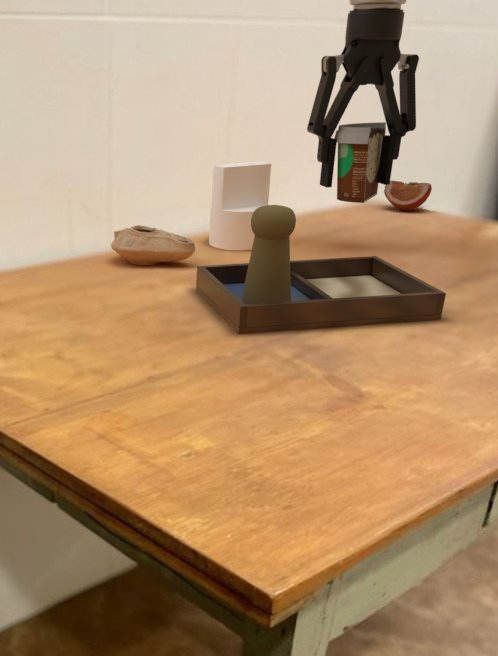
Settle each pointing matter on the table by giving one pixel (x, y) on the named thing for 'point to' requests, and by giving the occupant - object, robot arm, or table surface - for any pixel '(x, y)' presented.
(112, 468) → the table surface
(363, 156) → the food container
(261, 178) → the cylinder with rectangular tab
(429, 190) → the fruit slice
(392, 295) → the sorting tray
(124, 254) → the pottery oil lamp
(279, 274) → the olive knobbed cone
